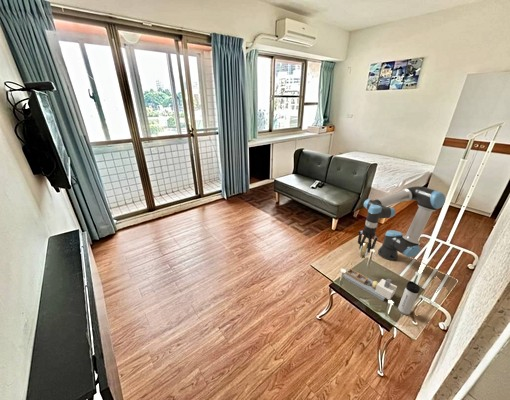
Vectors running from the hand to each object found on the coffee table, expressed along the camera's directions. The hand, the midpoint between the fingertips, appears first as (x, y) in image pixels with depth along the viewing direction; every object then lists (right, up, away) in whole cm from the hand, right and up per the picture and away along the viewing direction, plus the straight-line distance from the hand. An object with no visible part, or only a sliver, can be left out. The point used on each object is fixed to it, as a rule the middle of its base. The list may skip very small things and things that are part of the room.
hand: (363, 254), depth 161 cm
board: (-3, -19, -9) cm, 21 cm away
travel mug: (+10, -28, -28) cm, 41 cm away
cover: (+5, -21, -18) cm, 28 cm away
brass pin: (0, -2, +1) cm, 2 cm away
